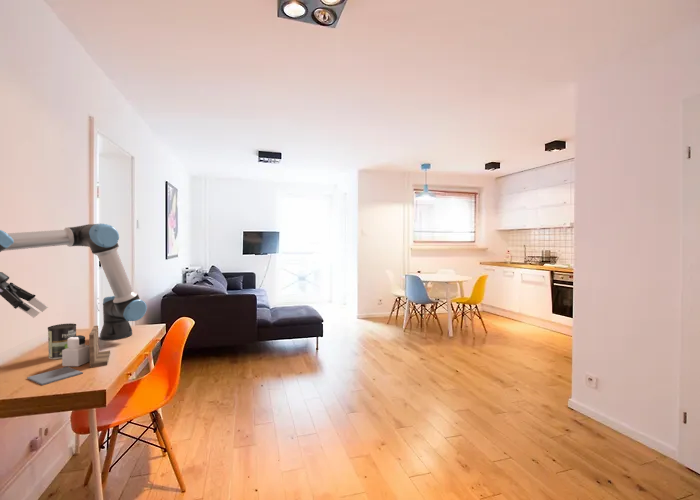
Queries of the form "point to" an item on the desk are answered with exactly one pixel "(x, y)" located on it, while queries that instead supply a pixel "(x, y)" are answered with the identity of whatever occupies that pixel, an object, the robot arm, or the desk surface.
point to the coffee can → (59, 339)
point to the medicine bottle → (76, 352)
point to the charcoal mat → (54, 375)
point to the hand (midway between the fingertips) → (41, 312)
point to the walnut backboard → (97, 350)
